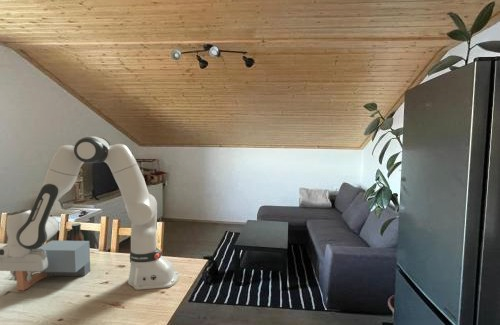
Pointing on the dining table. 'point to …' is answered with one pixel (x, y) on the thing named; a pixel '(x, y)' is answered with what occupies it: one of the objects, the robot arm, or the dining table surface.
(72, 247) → the grey block
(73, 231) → the sauce bottle
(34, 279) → the square headed mallet
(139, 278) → the robot arm
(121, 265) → the dining table surface
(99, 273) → the dining table surface
